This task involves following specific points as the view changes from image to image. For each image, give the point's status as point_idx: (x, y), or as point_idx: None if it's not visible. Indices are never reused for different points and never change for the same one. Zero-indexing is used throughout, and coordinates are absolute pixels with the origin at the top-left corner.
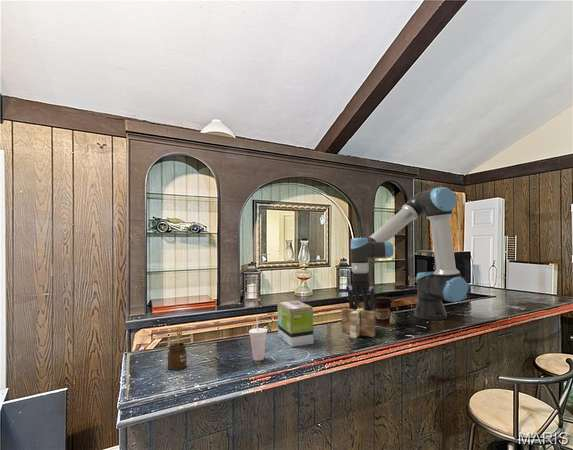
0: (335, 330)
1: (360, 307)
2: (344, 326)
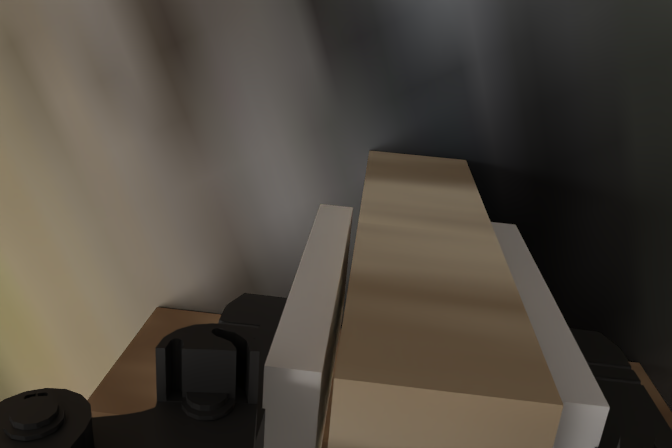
0: (35, 324)
1: (342, 387)
2: None
